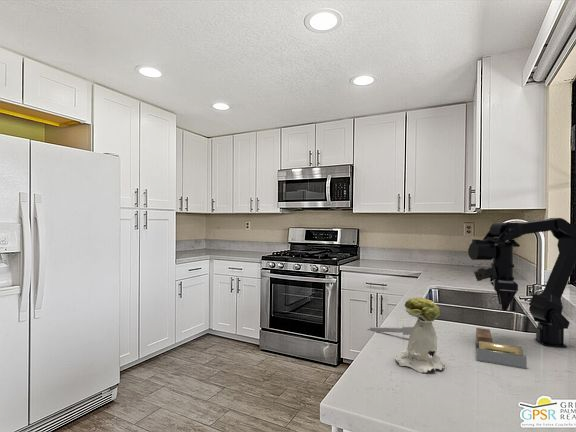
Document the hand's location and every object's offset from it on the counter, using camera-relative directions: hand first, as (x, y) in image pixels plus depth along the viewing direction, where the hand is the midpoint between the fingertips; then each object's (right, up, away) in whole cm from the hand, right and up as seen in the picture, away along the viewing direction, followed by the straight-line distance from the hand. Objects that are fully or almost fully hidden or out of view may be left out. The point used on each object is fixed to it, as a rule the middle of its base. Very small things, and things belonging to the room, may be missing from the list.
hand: (502, 307), depth 114 cm
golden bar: (-9, -10, -13) cm, 19 cm away
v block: (-9, -12, -14) cm, 20 cm away
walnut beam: (-7, -12, -2) cm, 14 cm away
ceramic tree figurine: (-34, -12, -17) cm, 40 cm away
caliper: (-34, -12, +7) cm, 37 cm away
